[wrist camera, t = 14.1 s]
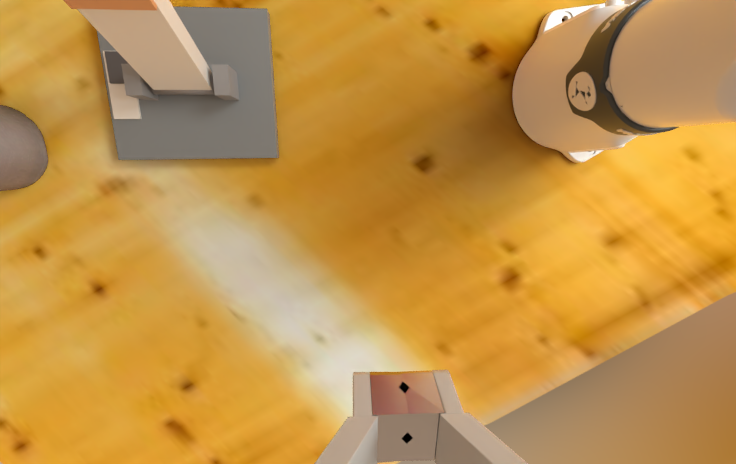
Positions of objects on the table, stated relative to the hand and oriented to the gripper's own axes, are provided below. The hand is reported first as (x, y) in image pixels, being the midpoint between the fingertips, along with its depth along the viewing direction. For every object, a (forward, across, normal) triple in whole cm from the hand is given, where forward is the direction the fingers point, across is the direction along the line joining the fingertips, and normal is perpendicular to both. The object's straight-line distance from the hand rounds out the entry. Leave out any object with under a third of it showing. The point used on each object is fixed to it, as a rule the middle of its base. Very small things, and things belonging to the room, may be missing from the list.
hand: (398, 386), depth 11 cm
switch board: (+36, +20, -9) cm, 42 cm away
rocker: (+34, +20, -9) cm, 41 cm away
